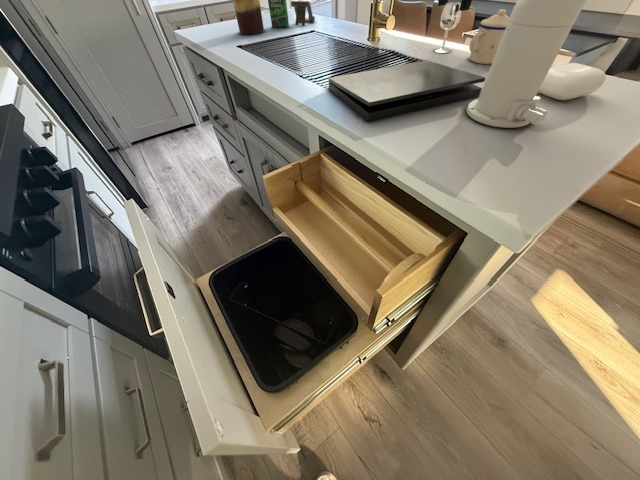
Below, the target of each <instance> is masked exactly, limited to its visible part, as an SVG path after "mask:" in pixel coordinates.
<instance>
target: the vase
mask: <svg viewBox="0 0 640 480" xmlns="http://www.w3.org/2000/svg"><path fill="white" fill-rule="evenodd" d="M232 1H233V7H234V13H235V16H236V17H235V18H236V22H237V27H238V31H239V34H240V35H244V36H253V35H259V34H262V33H264V32H265V28H264V21H263V15H262V8H261V2H260V0H232Z"/></svg>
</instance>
